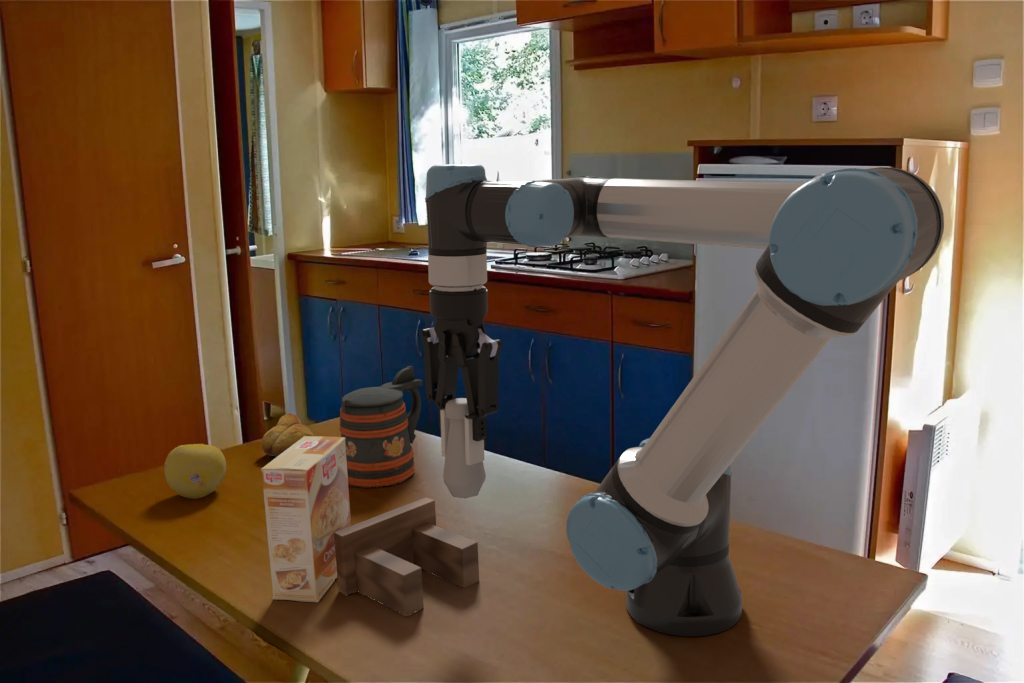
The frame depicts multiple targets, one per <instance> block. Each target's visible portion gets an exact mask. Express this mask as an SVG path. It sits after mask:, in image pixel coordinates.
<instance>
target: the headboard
mask: <svg viewBox="0 0 1024 683" xmlns="http://www.w3.org/2000/svg"><path fill="white" fill-rule="evenodd" d="M334 540H335V553H336V565H337V578H336V579H337V588H338V589H337V590H338V592H339V593H340V592H341V593H340V594H342V593H343V594H342V595H344V594H345V595H344V596H346V595H349V594H351V593H353V592H355V593H357V592H356V591H359V592H360V593H359V592H358V593H359V594H361V593H362V594H361V595H363V594H365V595H367V596H369V597H371V598H372V599H375V600H376V601H379V602H381V603H383V604H384V605H386V606H388V607H390V608H392V609H394V610H396V611H398V612H400V613H401V614H403V615H405V616H408V617H410V616H411V615H410V614H412V613H414V612H415V611H418V610H420V609H422V608H424V590H423V576H422V575H423V572H422V571H424V570H426V571H428V572H430V573H429V574H431V573H433V574H435V575H437V576H439V577H438V578H440V577H441V578H440V579H442V578H443V580H444V579H445V580H444V581H446V580H448V581H447V582H449V581H450V582H449V583H451V582H452V583H451V584H453V583H454V584H453V585H455V584H456V585H455V586H457V585H458V587H460V586H461V587H460V588H462V587H463V588H462V589H466V588H468V587H470V586H472V585H474V584H476V583H478V582H480V567H479V565H480V563H479V549H478V548H479V546H478V545H479V544H478V541H476V540H474V539H471V538H469V537H466V536H464V535H460V534H458V533H456V532H453V531H450V530H447V529H445V528H442V527H440V526H437V516H436V499H432V498H430V497H428V496H427V497H422V498H421V499H418V500H415V501H413V502H410V503H407V504H405V505H402V506H400V507H397V508H394V509H392V510H389V511H386V512H384V513H382V514H379V515H377V516H374V517H371V518H368V519H366V520H363V521H360V522H358V523H355V524H353V525H352V524H351V526H350V527H347V528H345V529H342V530H339V531H337V532H334ZM422 569H424V570H422ZM426 571H425V572H426ZM428 572H427V573H428ZM433 574H432V575H433ZM435 575H434V576H435ZM437 576H436V577H437ZM465 587H466V588H465ZM353 594H354V593H353ZM351 595H352V594H351ZM365 595H364V596H365ZM349 596H350V595H349ZM372 599H371V600H372ZM376 601H375V602H376ZM384 605H383V606H384ZM386 606H385V607H386ZM388 607H387V608H388ZM390 608H389V609H390ZM392 609H391V610H392ZM394 610H393V611H394ZM422 610H423V609H422ZM396 611H395V612H396ZM420 611H421V610H420ZM398 612H397V613H398ZM418 612H419V611H418ZM400 613H399V614H400ZM401 614H400V615H401ZM414 614H415V613H414ZM403 615H402V616H403ZM409 615H410V616H409ZM412 615H413V614H412ZM405 616H404V617H405Z"/></svg>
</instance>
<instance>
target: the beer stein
mask: <svg viewBox="0 0 1024 683" xmlns="http://www.w3.org/2000/svg"><path fill="white" fill-rule="evenodd" d="M422 386H423V380H422V379H420V378H419V379H417V378H416V375H415V370H414V367H413V366H412V365H407V366H406V367H404V368H402V369H400V370H399V371H397V373H396V375H395V376H394V378H393V380H392V381H390V382H386V383H383V384H381V385H380V386H371V387H363V388H358V389H355V390H353V391H351V392H348V393H347V394H345V395H344V396H342V398H341V402H342V403H341V407H340V409H339V412H340V413H339V415H340V416H339V432H340V437H345V446H346V460H347V474H348V486H350V487H356V488H366V489H367V488H370V489H374V487H376V488H380V487H381V488H383V487H382V486H387V487H390V486H394V485H393V484H395V485H398V484H397V483H399V484H401V483H403V481H404V482H405V481H406V480H407V479H409V478H410V477H411V476H412V475H414V473H415V470H416V469H415V461H414V460H415V459H414V455H415V454H414V451H413V446H412V445H411V444H413V443H414V442H415V439H416V438H417V435H416V434H415V430H416V427H417V425H418V421H419V420H420V415H421V409H422V399H421V394H420V391H419V389H418V387H422ZM405 392H409V393H410V394H411V397H412V405H411V408H410V411H409V412H408V413H407V410H406V408H407V407H406V403H405V401H404V400H403V396H404V394H403V393H405ZM389 485H390V486H389ZM371 487H373V488H371Z"/></svg>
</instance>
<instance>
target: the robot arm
mask: <svg viewBox="0 0 1024 683" xmlns="http://www.w3.org/2000/svg"><path fill="white" fill-rule="evenodd" d="M425 185H426V187H425V188H426V189H425V198H424V200H425V201H424V202H425V207H426V221H427V222H426V224H427V242H428V243H427V247H428V249H427V252H428V253H427V259H428V260H427V261H428V262H427V264H428V266H427V270H428V283H429V285H431V286H433V287H432V288H430V290H429V314H430V316H431V317H432V318H434V319H435V321H434V324H433V327H429V328H423V329H421V330H420V332H419V335H420V339H421V343H422V346H423V355H424V356H423V359H424V376H425V391H426V392H425V394H426V395H425V396H426V399H427V401H428V402H433V403H434V404H435V406H436V408H438V426H439V427H438V428H439V430H440V440H441V442H440V443H441V445H440V446H441V448H440V449H441V457H443V458H445V456H446V448H447V440H448V432H449V424H450V419H448V418H447V417H446V412H445V406H446V403H447V402H448V401H450V400H453V399H456V393H457V386H458V385H457V384H458V378H459V370H460V369H459V368H461V374H462V379H463V380H462V381H463V387H464V391H465V392H464V393H465V398H466V399H467V405H468V411H469V414H467V415H465V456H466V465H469V466H470V465H473V464H476V463H478V462H481V461H483V462H485V440H486V438H487V417H488V416H489V415H491V414H494V413H495V414H496V413H497V412H498V411H499V368H500V363H499V362H500V361H499V360H500V354H501V352H502V351H501V350H502V347H503V343H502V340H500V339H492V338H490V336H488V335H487V330H486V328H485V324H484V320H485V317H486V316H487V315H488V312H489V298H488V297H489V295H488V292H489V291H488V289H487V287H486V286H484V285H485V284H486V283H487V282H488V258H487V257H488V256H487V255H488V254H487V253H488V252H487V251H488V249H487V247H488V243H494V244H495V243H497V244H498V243H499V244H507V245H508V244H509V245H520V246H526V247H528V248H537V247H554V246H558V245H560V244H561V243H562V242H563V241H564V239H565V238H572V237H592V238H614V239H615V238H617V239H627V240H628V239H629V240H640V241H641V240H642V241H653V242H664V243H665V242H666V243H681V244H691V245H702V246H703V245H704V246H706V245H707V246H717V247H718V246H719V247H731V248H732V247H733V248H745V249H758V250H764V251H763V252H762V254H761V256H759V258H758V260H757V261H756V263H755V264H754V266H753V271H754V276H755V279H756V280H755V281H756V284H757V288H756V289H755V291H754V292H753V294H752V295H751V297H749V299H748V300H747V302H746V304H745V305H744V306H743V307H742V309H741V310H740V312H739V313H738V315H736V317H735V319H734V320H733V321H732V323H731V324H730V326H729V327H728V328H727V330H726V331H725V333H724V334H723V336H722V337H721V338H720V339H719V341H718V343H717V344H716V345H715V347H713V349H712V351H711V352H710V354H709V355H708V356H707V357H706V359H705V361H704V362H703V363H702V364H701V366H700V368H699V369H698V371H697V372H696V373H695V374H694V376H692V379H691V380H690V381H689V382H688V384H687V386H685V389H684V390H683V391H682V392H681V394H680V395H679V397H678V398H677V400H676V401H675V403H674V404H673V405H672V406H671V407H670V409H669V411H668V412H667V414H666V415H665V416H664V418H663V419H662V421H661V422H660V423H659V425H658V426H657V427H656V429H655V430H654V432H653V433H652V435H651V436H650V437H649V438H646V439H644V440H642V441H641V442H640V443H639V446H635V447H630V448H627V449H626V450H625V451H624V452H623V453H622V454H621V455H620V456H619V458H618V459H617V461H616V462H615V463H614V465H613V466H612V467H611V469H610V470H609V472H608V473H607V474H606V475H605V477H604V478H603V480H602V481H601V483H600V484H599V485H598V486H597V487H596V488H595V489H594V490H593V491H592V492H590V493H586V494H584V495H582V496H581V497H580V498H579V499H578V500H577V501H576V503H574V505H573V506H572V507H571V508H570V510H569V512H568V515H567V518H566V526H565V528H566V529H565V531H566V538H567V540H568V541H569V543H570V545H569V548H570V551H571V554H572V556H573V557H574V559H575V561H576V563H577V564H578V565H579V567H580V568H581V569H582V570H583V572H584V573H585V574H587V575H588V576H589V578H590V579H592V580H593V581H595V582H596V583H598V584H599V585H601V586H603V587H605V588H608V589H611V590H616V591H621V592H625V594H626V595H625V596H626V602H625V603H626V604H625V605H626V609H627V612H628V614H629V615H630V617H631V618H632V619H633V620H635V621H636V622H637V623H638V624H640V625H642V626H643V627H646V628H647V629H650V630H653V631H655V632H659V633H661V634H666V635H672V636H679V637H680V636H681V637H702V636H703V637H704V636H710V635H714V634H715V635H716V634H719V633H721V632H725V631H727V630H729V629H730V628H732V627H734V626H735V625H736V624H737V623H738V622H739V621H740V620H741V617H742V614H743V595H742V590H741V588H740V586H739V583H738V580H737V576H736V572H735V569H734V567H733V564H732V560H731V558H730V529H731V528H730V527H731V526H730V525H731V491H732V490H731V486H732V481H731V480H732V477H733V472H732V471H731V470H732V469H731V464H732V463H733V461H734V460H735V459H736V458H737V456H739V454H740V453H741V451H742V450H743V449H744V448H745V447H746V445H747V444H748V442H750V440H751V439H752V437H754V436H755V434H756V433H757V431H758V430H759V429H760V427H761V426H763V424H764V423H765V421H766V420H767V419H768V418H769V416H770V415H771V414H772V413H773V412H774V410H775V409H776V407H777V406H778V405H779V404H780V403H781V401H783V399H784V397H786V395H787V394H788V393H789V392H790V390H791V389H792V388H793V387H794V385H795V384H796V383H797V381H799V379H800V378H801V376H802V375H803V374H804V372H806V370H807V369H808V367H810V365H811V364H812V363H813V361H814V360H815V359H816V358H817V356H818V355H819V354H820V352H821V351H822V350H823V349H824V348H825V346H827V344H828V342H829V341H830V340H831V339H833V338H836V337H837V338H839V337H849V336H850V337H851V336H853V335H855V334H856V333H857V332H858V331H859V330H860V329H861V327H863V325H864V324H865V323H866V321H867V320H868V319H869V318H870V317H871V316H872V314H873V313H874V312H875V311H876V310H877V308H878V307H879V306H880V304H881V303H882V302H883V301H884V300H885V298H887V296H888V295H889V294H890V293H891V291H892V290H893V289H894V287H895V286H896V285H897V284H898V283H899V282H900V281H902V280H904V279H907V278H908V277H910V276H911V275H913V274H915V273H917V272H918V271H920V270H921V269H922V268H924V266H926V264H928V262H930V260H931V259H932V258H933V257H934V255H935V253H936V252H937V250H938V248H939V246H940V244H941V242H942V238H943V235H944V230H945V216H944V210H943V207H942V203H941V201H940V199H939V197H938V195H937V193H936V192H935V191H934V189H933V188H932V186H931V185H930V184H928V183H927V182H926V181H925V180H924V179H923V178H921V177H919V176H918V175H917V174H914V173H913V172H910V171H908V170H905V169H902V168H897V167H887V166H885V167H883V166H879V167H870V168H856V167H853V168H841V169H836V170H831V171H828V172H826V173H821V174H817V175H815V176H814V177H813V178H812V179H810V180H809V181H807V182H805V183H804V182H802V183H801V182H771V181H770V182H768V181H766V182H765V181H734V180H733V181H729V180H728V181H726V180H724V181H723V180H697V179H696V180H695V179H693V180H692V179H691V180H690V179H689V180H688V179H685V180H684V179H657V178H656V179H653V178H651V179H647V178H617V177H615V178H614V177H613V178H606V177H600V176H595V175H585V176H584V175H583V176H578V177H569V178H555V179H554V178H553V179H539V180H522V181H521V180H520V181H516V180H515V181H512V180H511V181H508V180H507V181H506V180H505V181H502V180H500V181H493V180H488V179H487V176H486V169H485V167H484V166H483V165H482V164H478V163H477V164H472V163H465V164H463V163H458V164H456V163H455V164H449V163H448V164H435V165H432V166H431V167H429V168H428V170H427V172H426V184H425Z"/></svg>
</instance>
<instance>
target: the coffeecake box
mask: <svg viewBox="0 0 1024 683" xmlns="http://www.w3.org/2000/svg"><path fill="white" fill-rule="evenodd" d="M260 470H261V476H262V487H263V490H262V491H263V499H264V508H265V509H264V510H265V511H264V512H265V513H264V514H265V522H266V532H267V543H268V554H269V566H270V576H271V578H270V579H271V588H272V600H281V601H296V602H304V603H305V602H306V603H319V602H320V600H321V599H322V598H323V596H324V595H325V594H326V592H327V591H328V590H329V589H330V587H331V586H332V585H333V583H334V582H335V581H336V580H335V579H338V578H337V565H336V553H335V540H334V532H337V531H339V530H342V529H345V528H347V527H350V526H352V523H351V522H352V520H351V508H350V507H351V506H350V492H349V491H350V490H349V485H348V474H347V460H346V446H345V437H341V436H319V435H318V436H315V435H314V436H303V437H302V438H301V439H300V440H299V441H297V442H296V443H295V444H293V445H292V446H291V447H289V448H288V449H287V450H285V451H284V452H283V453H281V454H280V455H279V456H277V457H274V458H273V459H271V461H269V462H268V463H267V464H265V465H264V466H263V467H261V469H260Z"/></svg>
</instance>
